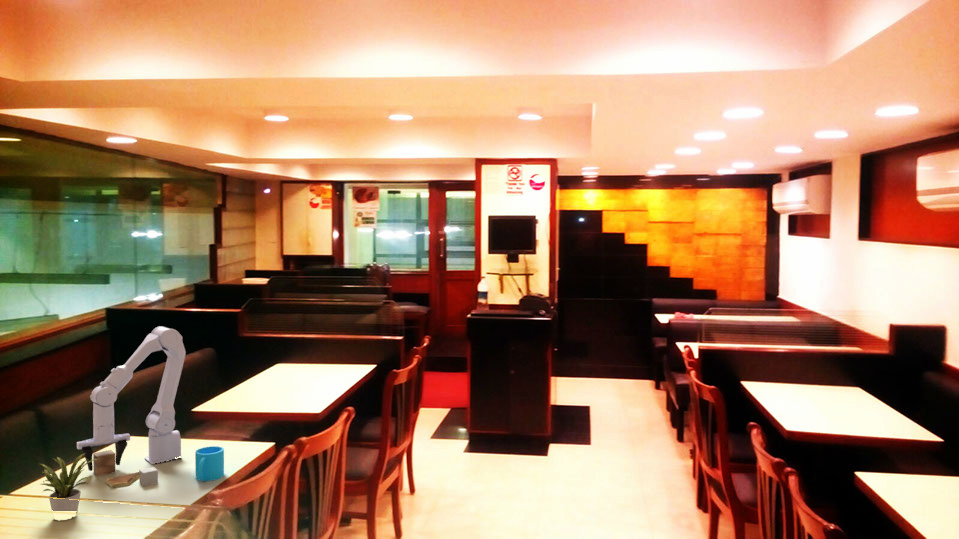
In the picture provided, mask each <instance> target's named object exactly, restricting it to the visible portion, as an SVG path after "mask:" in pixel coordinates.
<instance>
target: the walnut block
mask: <svg viewBox="0 0 959 539" xmlns="http://www.w3.org/2000/svg"><path fill="white" fill-rule="evenodd" d="M93 459H97V460H93ZM92 460H93V461H92V466H93V473H94V475H96V476H97V477H99V476H105V475H110V474H114V473H116V452H114V451H113V450H111V449H110V450H104V451H98V452H94V453H93V454H92Z"/></svg>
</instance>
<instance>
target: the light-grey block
mask: <svg viewBox="0 0 959 539" xmlns="http://www.w3.org/2000/svg"><path fill="white" fill-rule="evenodd" d="M158 471H159V470H158V469H157V468H156V467H155V466H152V467H145V468H142V469H139V470H138V472H139V478H138V479H139V482H138V483H140V485H142V486H143V487H145V486H150V485H155V484H158V483H159V476H158V475H159V472H158Z"/></svg>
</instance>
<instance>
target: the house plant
mask: <svg viewBox="0 0 959 539" xmlns="http://www.w3.org/2000/svg"><path fill="white" fill-rule="evenodd" d="M84 454H85V453H84ZM84 454H83V453H82V454H80V455H79V456H77V457H76V459H75V460H74V462H72V464H71V467H70V471H69V474H68V469H67V468H68V467H67V464H66V463H65V462H66V461H64V460H63V459H62V458H61V457H58V456H56V458H53V457H52V459H53V460H54V461H55V462H57V463H58V464H59V466H60V468H61V472H60V473H59V476H58V475H57V473H56V472H55V470H53V469H52V468H51V467H50V466H49V465H46V464H43V463H40V465H41V466H42V467H44V469H43V470H44V471H43V473H44V474H45V477H46V480H43V482H42V483H40V485H42V486H47V487H51V488H53V489H54V490H52V489H49V488H45V489H43V490H42V493H43V492H47V491H51V492H53V493H51V494H49V496H48V498H49V497H57V498H65V499H53V498H49V503H50V507H51V511H52V510H53V511H77V512H78V511H79V506H80V499H81V490H80V489H77V488H75V487H78V486H80V485H84V484H87V485H88V484H89V483H88V482H86V481H84V480H91V478H90V477H88V476H85V477H82V478H81V479H79V480H78V477H79V476H80V474H81V473H82V472H83V471H84V469H83V468H84V467H85V466H87V465H88V463H89V462H91V461H92V462H93V460H97V459H93V458H92V460H90V461H88V462H87V460H86V459H84V461H82V460H81V458H82V457H83V456H84ZM88 460H89V459H88ZM79 462H81V463H80V464H79V465H78V463H79ZM77 465H78V466H77ZM76 466H77V468H76ZM76 481H77V482H76ZM81 481H82V482H81ZM45 482H46V483H45ZM47 482H49V483H47ZM69 499H79V501H78V500H69Z"/></svg>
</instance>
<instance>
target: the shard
mask: <svg viewBox="0 0 959 539" xmlns="http://www.w3.org/2000/svg"><path fill="white" fill-rule="evenodd" d="M138 479H139V471H137V472H132V473H127V474H123V475H117V476H114V477H109V478H107V479H106V480H105V484H107V485H109V487H110V488H115V487H116V488H117V487H128V486H130V485H131V484H132V483H133V482H134V481H136V480H138Z"/></svg>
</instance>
